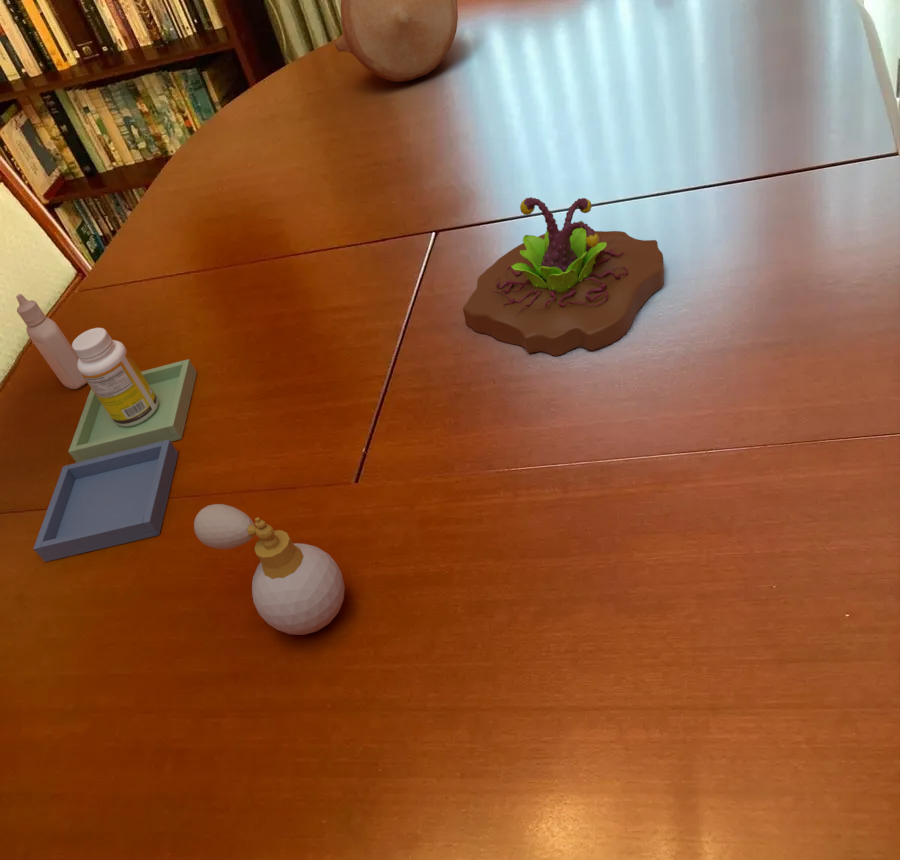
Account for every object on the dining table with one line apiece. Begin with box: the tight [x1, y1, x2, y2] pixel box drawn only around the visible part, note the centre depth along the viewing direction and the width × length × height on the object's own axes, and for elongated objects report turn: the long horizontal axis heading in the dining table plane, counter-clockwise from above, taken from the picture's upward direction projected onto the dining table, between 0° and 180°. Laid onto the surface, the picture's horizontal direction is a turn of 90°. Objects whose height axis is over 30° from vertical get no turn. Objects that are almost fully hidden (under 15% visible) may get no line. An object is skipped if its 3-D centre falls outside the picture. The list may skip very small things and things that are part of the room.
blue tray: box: [33, 440, 179, 563], centre depth 91 cm, size 13×13×2 cm
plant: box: [462, 196, 665, 357], centre depth 91 cm, size 20×20×11 cm
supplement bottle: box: [71, 327, 158, 426], centre depth 98 cm, size 6×6×10 cm
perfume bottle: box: [193, 503, 346, 636], centre depth 70 cm, size 8×10×12 cm
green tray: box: [68, 358, 198, 463], centre depth 101 cm, size 13×13×2 cm
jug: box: [334, 0, 459, 83], centre depth 148 cm, size 20×19×30 cm
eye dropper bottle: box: [15, 293, 88, 390], centre depth 107 cm, size 4×6×12 cm
